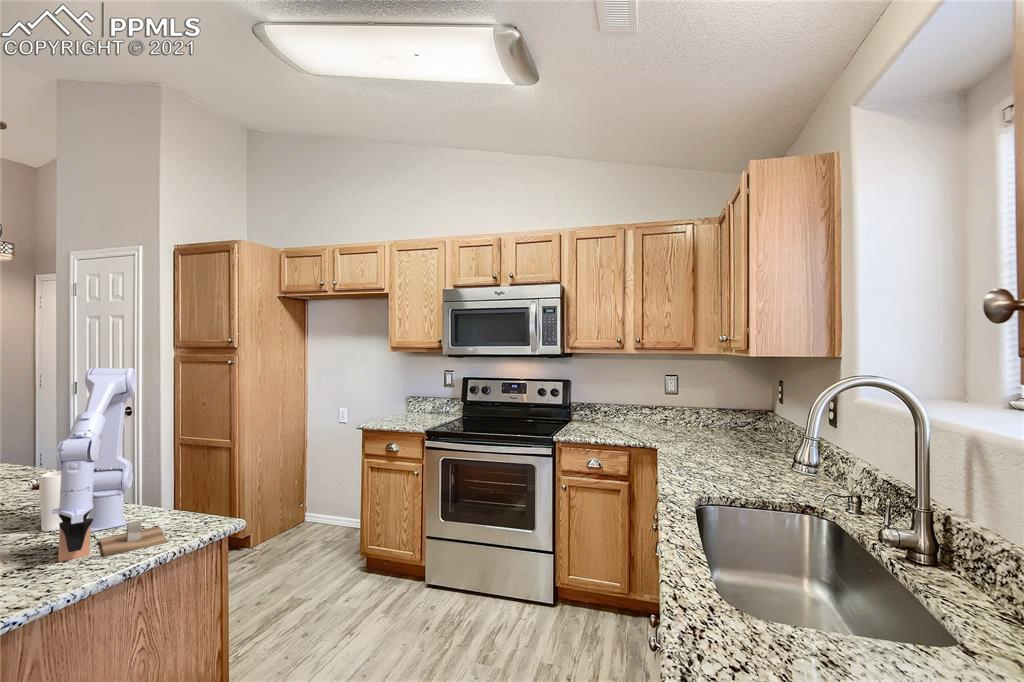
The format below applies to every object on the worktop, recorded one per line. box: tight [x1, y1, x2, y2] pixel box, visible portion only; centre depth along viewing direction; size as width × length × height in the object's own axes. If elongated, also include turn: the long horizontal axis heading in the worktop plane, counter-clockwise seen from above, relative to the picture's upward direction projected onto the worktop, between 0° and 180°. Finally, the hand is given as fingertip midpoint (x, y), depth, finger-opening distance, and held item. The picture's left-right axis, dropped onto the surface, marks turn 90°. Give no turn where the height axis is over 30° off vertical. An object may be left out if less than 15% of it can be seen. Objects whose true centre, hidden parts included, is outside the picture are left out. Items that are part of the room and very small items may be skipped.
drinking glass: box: [38, 470, 62, 533], centre depth 124 cm, size 7×7×15 cm
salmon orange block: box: [57, 526, 91, 563], centre depth 108 cm, size 5×5×7 cm
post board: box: [99, 520, 168, 558], centre depth 116 cm, size 12×12×5 cm
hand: (74, 545), depth 108 cm, fingers open, 7 cm apart
